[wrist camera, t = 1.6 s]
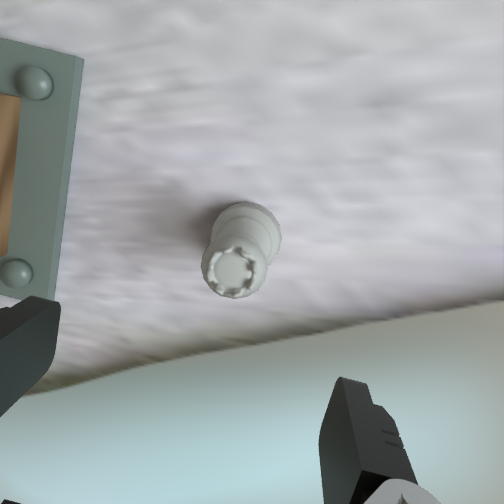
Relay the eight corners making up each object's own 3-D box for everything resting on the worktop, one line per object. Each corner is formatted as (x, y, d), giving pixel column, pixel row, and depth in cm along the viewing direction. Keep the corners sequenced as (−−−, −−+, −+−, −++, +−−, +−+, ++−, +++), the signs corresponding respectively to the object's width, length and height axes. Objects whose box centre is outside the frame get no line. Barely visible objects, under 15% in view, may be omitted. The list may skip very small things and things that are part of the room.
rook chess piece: (282, 201, 27) (279, 226, 20) (281, 269, 29) (278, 319, 21) (211, 200, 28) (182, 225, 20) (213, 268, 29) (186, 316, 21)
